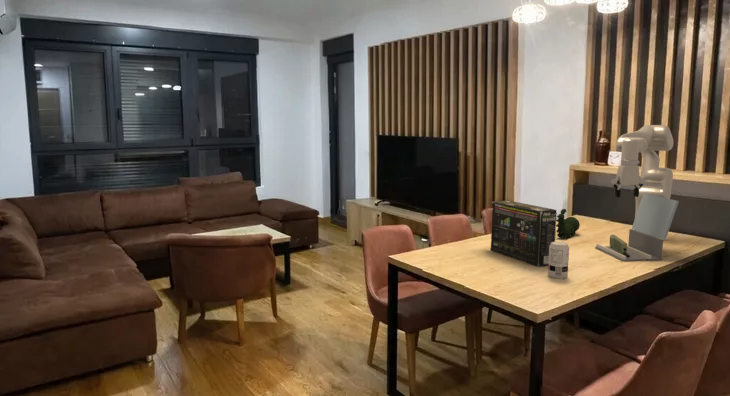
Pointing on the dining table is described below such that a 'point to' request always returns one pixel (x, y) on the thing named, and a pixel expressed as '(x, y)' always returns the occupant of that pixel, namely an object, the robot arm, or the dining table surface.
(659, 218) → the cover
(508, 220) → the router box
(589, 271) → the dining table surface
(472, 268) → the dining table surface
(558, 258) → the supplement can
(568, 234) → the toy figurine
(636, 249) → the grey sloped stand
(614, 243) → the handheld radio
